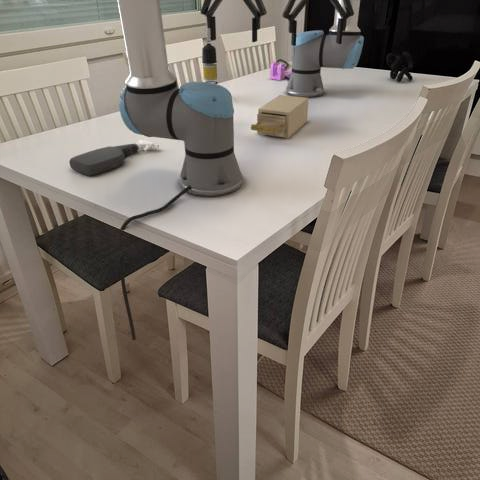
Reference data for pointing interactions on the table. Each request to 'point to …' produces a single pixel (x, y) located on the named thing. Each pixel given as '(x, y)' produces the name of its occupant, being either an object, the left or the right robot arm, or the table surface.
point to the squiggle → (399, 66)
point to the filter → (209, 60)
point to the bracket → (281, 71)
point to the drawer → (270, 124)
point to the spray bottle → (106, 157)
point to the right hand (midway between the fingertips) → (316, 44)
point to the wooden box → (288, 111)
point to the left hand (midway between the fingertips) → (233, 40)
